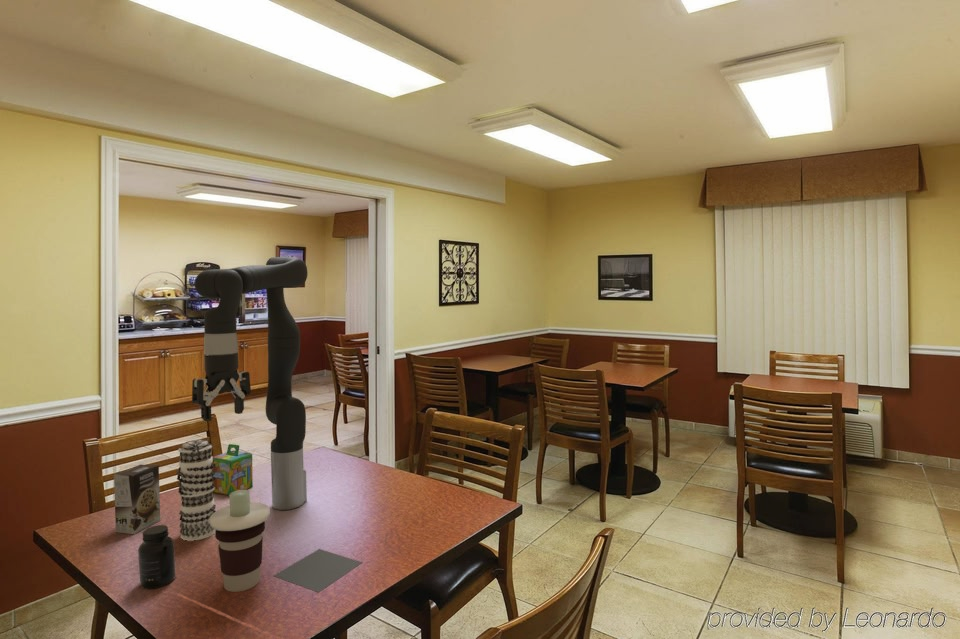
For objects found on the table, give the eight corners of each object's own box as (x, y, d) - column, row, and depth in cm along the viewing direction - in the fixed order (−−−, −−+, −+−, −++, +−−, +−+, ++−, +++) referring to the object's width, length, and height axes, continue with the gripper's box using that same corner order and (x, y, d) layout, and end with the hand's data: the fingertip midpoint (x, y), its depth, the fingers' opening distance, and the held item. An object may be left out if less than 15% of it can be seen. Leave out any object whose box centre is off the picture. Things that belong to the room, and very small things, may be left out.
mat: (319, 551, 131) (319, 548, 131) (362, 564, 124) (362, 562, 124) (273, 578, 119) (273, 575, 119) (318, 594, 112) (318, 592, 112)
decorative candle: (225, 527, 145) (222, 437, 143) (202, 542, 136) (198, 447, 134) (195, 524, 146) (192, 436, 145) (170, 540, 137) (167, 446, 136)
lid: (245, 503, 123) (245, 479, 123) (281, 513, 118) (280, 488, 117) (197, 523, 113) (196, 497, 113) (234, 535, 107) (233, 508, 107)
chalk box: (210, 492, 170) (208, 447, 169) (233, 483, 178) (232, 440, 178) (231, 496, 166) (230, 450, 166) (254, 486, 175) (252, 443, 174)
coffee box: (134, 534, 140) (132, 475, 139) (114, 532, 142) (112, 474, 141) (161, 520, 149) (159, 464, 148) (142, 518, 151) (140, 463, 150)
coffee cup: (276, 576, 119) (274, 512, 118) (243, 601, 110) (241, 531, 109) (241, 569, 122) (239, 506, 122) (206, 592, 113) (204, 524, 112)
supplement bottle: (150, 574, 121) (148, 523, 120) (181, 572, 121) (179, 521, 121) (133, 591, 114) (130, 537, 113) (165, 589, 114) (163, 535, 114)
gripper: (236, 348, 136) (238, 409, 137) (183, 353, 124) (186, 421, 124) (256, 349, 132) (258, 412, 133) (203, 355, 120) (206, 425, 121)
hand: (223, 417), depth 129 cm, fingers open, 8 cm apart
